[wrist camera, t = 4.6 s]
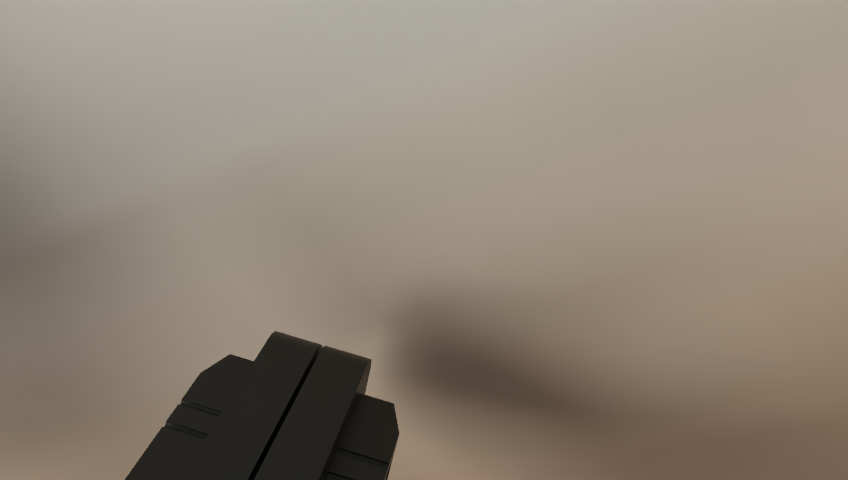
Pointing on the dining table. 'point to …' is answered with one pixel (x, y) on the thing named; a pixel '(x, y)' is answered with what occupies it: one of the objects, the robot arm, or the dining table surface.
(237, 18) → the dining table surface
